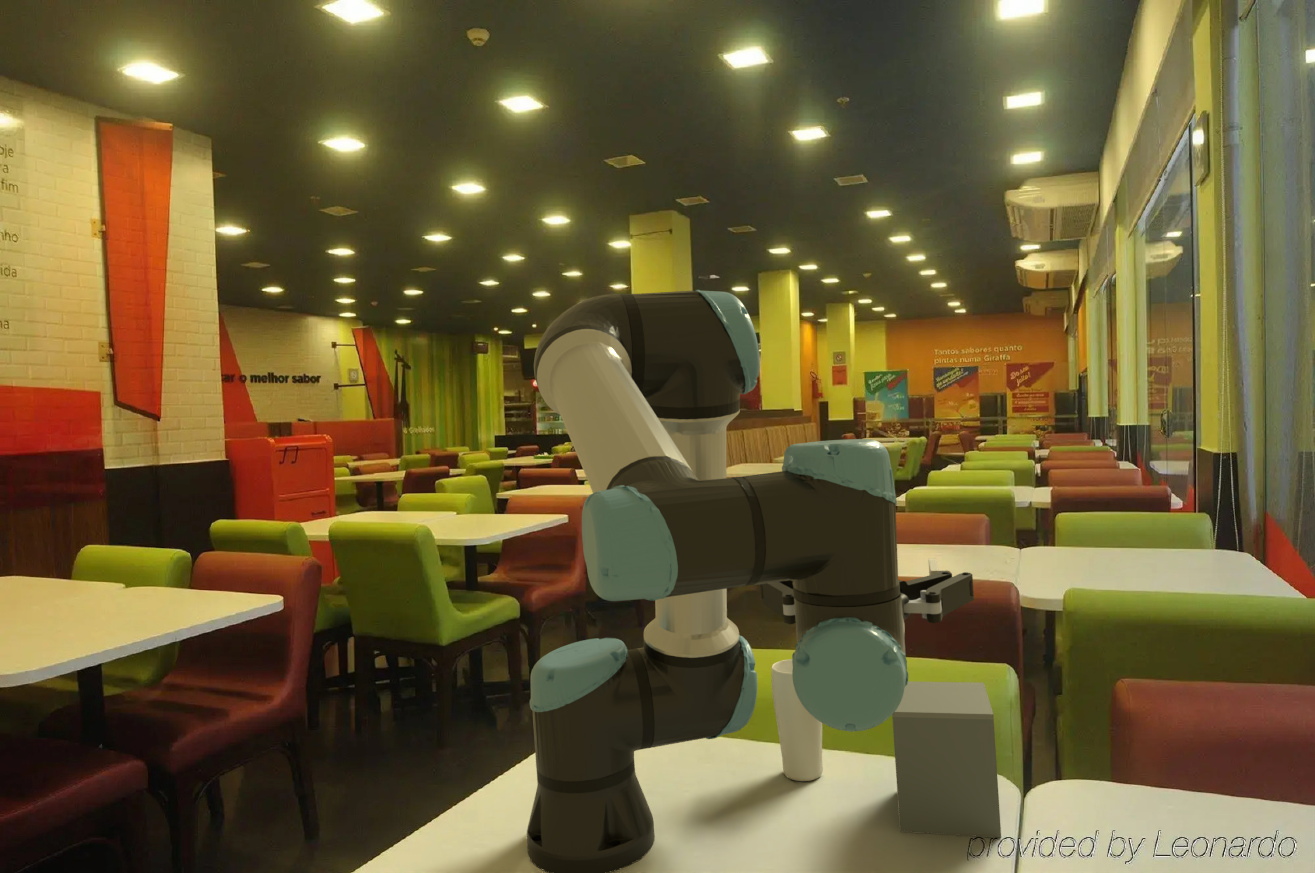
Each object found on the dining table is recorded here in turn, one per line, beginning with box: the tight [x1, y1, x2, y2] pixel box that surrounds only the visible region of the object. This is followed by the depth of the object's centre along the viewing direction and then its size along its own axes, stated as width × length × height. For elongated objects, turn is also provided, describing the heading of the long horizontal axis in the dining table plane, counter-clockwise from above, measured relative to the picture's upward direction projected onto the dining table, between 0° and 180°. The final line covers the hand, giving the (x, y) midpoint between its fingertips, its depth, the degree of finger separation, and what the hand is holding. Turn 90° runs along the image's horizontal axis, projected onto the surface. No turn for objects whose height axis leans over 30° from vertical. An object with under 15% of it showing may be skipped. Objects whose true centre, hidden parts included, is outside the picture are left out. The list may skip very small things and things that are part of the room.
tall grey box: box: [891, 681, 1002, 839], centre depth 103 cm, size 11×11×14 cm
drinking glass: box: [770, 658, 824, 782], centre depth 116 cm, size 7×7×15 cm
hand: (866, 572), depth 91 cm, fingers open, 13 cm apart
